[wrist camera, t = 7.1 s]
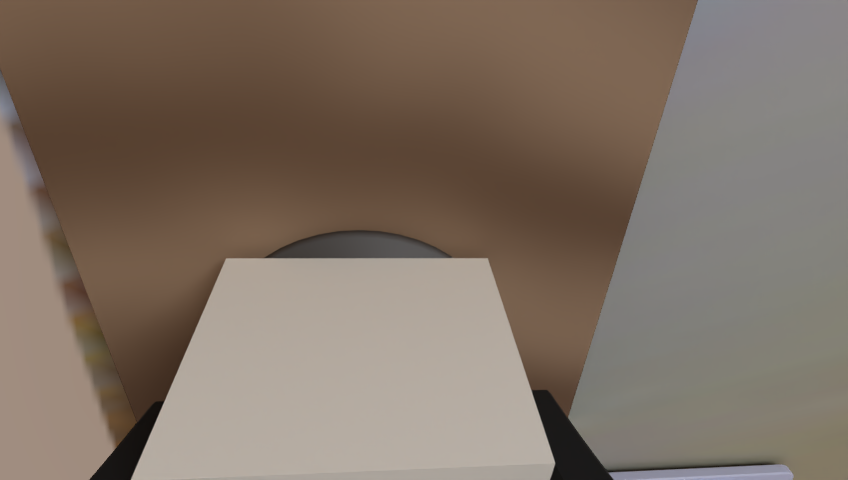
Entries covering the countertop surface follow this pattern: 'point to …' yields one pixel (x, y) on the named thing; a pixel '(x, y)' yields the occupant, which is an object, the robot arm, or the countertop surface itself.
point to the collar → (350, 377)
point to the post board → (341, 149)
